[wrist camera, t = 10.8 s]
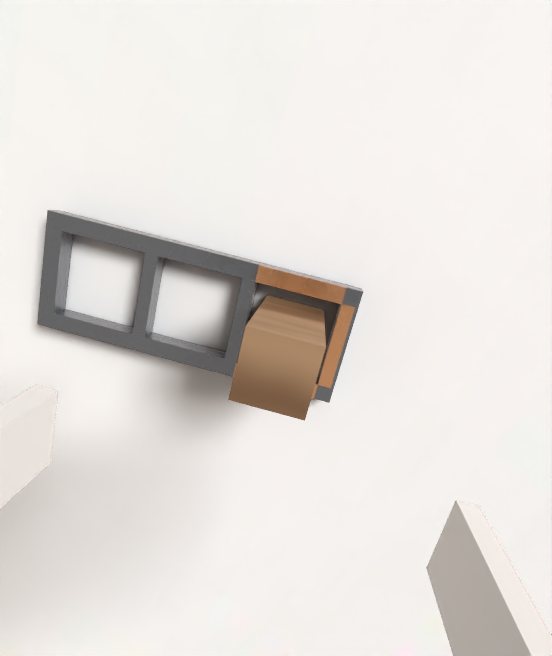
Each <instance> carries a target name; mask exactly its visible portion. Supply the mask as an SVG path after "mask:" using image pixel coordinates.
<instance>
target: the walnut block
mask: <svg viewBox="0 0 552 656" xmlns="http://www.w3.org/2000/svg"><path fill="white" fill-rule="evenodd" d="M325 349H326V338H325V319H324V309H321V308H317V307H313V306H309V305H305V304H301V303H298V302H294V301H290V300H286V299H282V298H278V297H275V296H271V295H267V296H266V298H265V299H264V301H263V302H262V304H261V305H260V306H259V308H258V309H257V311H256V312H255V314H254V315H253V316H252V318H251V319H250V321H249V322H248V323H247V325H246V327H245V331H244V335H243V340H242V344H241V348H240V353H239V357H238V361H237V365H236V370H235V374H234V378H233V383H232V387H231V391H230V396H229V400H231V401H235V402H239V403H242V404H246V405H250V406H254V407H257V408H261V409H265V410H268V411H272V412H276V413H279V414H283V415H287V416H290V417H294V418H298V419H301V420H305V418H306V414H307V411H308V407H309V404H310V401H311V397H312V394H313V390H314V387H315V383H316V380H317V377H318V373H319V370H320V366H321V363H322V359H323V356H324V353H325Z"/></svg>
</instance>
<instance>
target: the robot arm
mask: <svg viewBox="0 0 552 656" xmlns="http://www.w3.org/2000/svg"><path fill="white" fill-rule="evenodd" d="M57 398H58V391H57V390H53V389H50V388H46V387H42V386H39V385H35V386H33V387H31V388H29V389H28V390H26V391H24V392H23V393H21V394H19V395H18V396H16V397H14V398H12V399H11V400H9V401H7V402H6V403H4V404H2V405H1V406H0V509H1V508H2V507H3V506H4V505H5V504H6V503H7V502H8V501H9V500H10V499H12V498H13V497H14V496H15V495H16V494H17V493H18V492H19V491H20V490H21V489H23V488H24V487H25V486H26V485H27V484H28V483H29V482H30V481H31V480H32V479H33V478H35V477H36V476H37V475H38V474H39V473H40V472H41V471H42V470H43V469H44V468H46V467H47V466H48V465H49V464H50V463H51V456H52V447H53V437H54V427H55V418H56V408H57ZM427 571H428V575H429V578H430V581H431V584H432V588H433V591H434V594H435V597H436V601H437V604H438V607H439V611H440V614H441V617H442V620H443V624H444V627H445V630H446V633H447V637H448V640H449V643H450V647H451V650H452V653H453V656H552V634H551V633H550V631H549V629H548V627H547V626H546V624H545V622H544V620H543V618H542V617H541V615H540V613H539V611H538V609H537V608H536V606H535V604H534V602H533V601H532V599H531V597H530V595H529V593H528V592H527V590H526V588H525V586H524V584H523V583H522V581H521V579H520V577H519V575H518V574H517V572H516V570H515V568H514V566H513V565H512V563H511V561H510V559H509V557H508V556H507V554H506V552H505V550H504V548H503V547H502V545H501V543H500V541H499V539H498V538H497V536H496V534H495V532H494V530H493V529H492V527H491V525H490V523H489V521H488V520H487V518H486V516H485V514H484V512H483V511H482V509H481V507H480V506H477V505H473V504H470V503H466V502H462V501H459V500H456V501H455V503H454V506H453V508H452V510H451V513H450V515H449V517H448V519H447V522H446V524H445V526H444V529H443V531H442V533H441V536H440V538H439V540H438V542H437V545H436V547H435V549H434V552H433V554H432V556H431V559H430V561H429V563H428V566H427Z"/></svg>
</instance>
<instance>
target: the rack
mask: <svg viewBox="0 0 552 656" xmlns="http://www.w3.org/2000/svg"><path fill="white" fill-rule="evenodd" d="M73 234H75V235H79V236H83V237H87V238H91V239H94V240H98V241H102V242H106V243H110V244H114V245H117V246H121V247H125V248H129V249H133V250H137V251H140V252H144V253H145V256H144V262H143V269H142V275H141V282H140V288H139V294H138V301H137V307H136V314H135V320H134V327H130V326H126V325H122V324H118V323H115V322H111V321H107V320H103V319H100V318H96V317H92V316H89V315H85V314H81V313H77V312H74V311H70V310H66V309H65V305H66V296H67V287H68V277H69V268H70V259H71V249H72V240H73ZM164 258H167V259H171V260H175V261H179V262H183V263H187V264H190V265H194V266H198V267H202V268H206V269H210V270H213V271H217V272H221V273H225V274H229V275H233V276H237V277H240V278H242V282H241V286H240V291H239V295H238V300H237V304H236V309H235V313H234V318H233V322H232V327H231V331H230V336H229V340H228V345H227V349H226V352H223V351H219V350H216V349H212V348H208V347H204V346H201V345H197V344H193V343H189V342H186V341H182V340H178V339H175V338H171V337H167V336H163V335H160V334H156V333H152V329H153V324H154V318H155V312H156V306H157V300H158V294H159V288H160V282H161V276H162V270H163V264H164ZM257 282H258V283H262V284H265V285H269V286H273V287H277V288H281V289H285V290H288V291H292V292H296V293H300V294H304V295H308V296H311V297H315V298H319V299H323V300H327V301H331V302H334V303H338V304H339V307H338V310H337V313H336V317H335V320H334V324H333V327H332V331H331V334H330V337H329V341H328V344H327V348H326V351H325V354H324V358H323V361H322V365H321V368H320V372H319V375H318V377H317V380H316V383H315V387H314V390H313V394H312V397H311V399H318V400H322V401H325V402H330V398H331V395H332V392H333V389H334V385H335V382H336V379H337V376H338V372H339V369H340V366H341V362H342V359H343V356H344V353H345V349H346V346H347V343H348V340H349V336H350V333H351V330H352V326H353V323H354V320H355V317H356V313H357V310H358V307H359V304H360V300H361V297H362V294H363V291H362V289H361V288H357V287H353V286H350V285H346V284H342V283H338V282H334V281H330V280H326V279H323V278H319V277H315V276H311V275H307V274H303V273H299V272H295V271H292V270H288V269H284V268H280V267H276V266H272V265H268V264H265V263H261V262H257V261H253V260H249V259H245V258H241V257H237V256H234V255H230V254H226V253H222V252H218V251H214V250H210V249H207V248H203V247H199V246H195V245H191V244H187V243H183V242H179V241H176V240H172V239H168V238H164V237H160V236H156V235H152V234H149V233H145V232H141V231H137V230H133V229H129V228H125V227H121V226H118V225H114V224H110V223H106V222H102V221H98V220H94V219H91V218H87V217H83V216H79V215H75V214H71V213H67V212H63V211H58V210H48V212H47V223H46V235H45V246H44V257H43V268H42V279H41V291H40V302H39V313H38V324H40V325H43V326H47V327H51V328H55V329H58V330H62V331H66V332H69V333H73V334H77V335H81V336H84V337H88V338H92V339H95V340H99V341H103V342H106V343H110V344H114V345H118V346H121V347H125V348H129V349H132V350H136V351H140V352H144V353H147V354H151V355H155V356H158V357H162V358H166V359H170V360H173V361H177V362H181V363H184V364H188V365H192V366H196V367H199V368H203V369H207V370H210V371H214V372H218V373H222V374H225V375H229V376H233V378H234V374H235V370H236V365H237V361H238V357H239V353H240V348H241V344H242V340H243V335H244V331H245V327H246V325H247V323H248V321H249V317H250V312H251V308H252V304H253V300H254V295H255V291H256V287H257Z"/></svg>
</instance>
